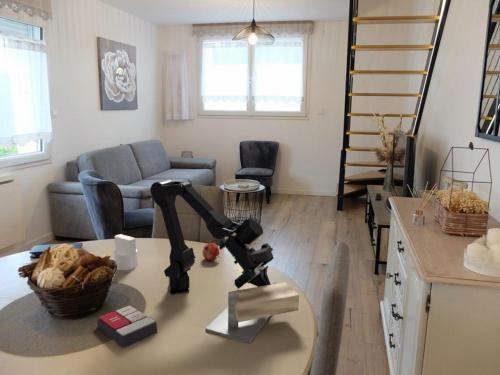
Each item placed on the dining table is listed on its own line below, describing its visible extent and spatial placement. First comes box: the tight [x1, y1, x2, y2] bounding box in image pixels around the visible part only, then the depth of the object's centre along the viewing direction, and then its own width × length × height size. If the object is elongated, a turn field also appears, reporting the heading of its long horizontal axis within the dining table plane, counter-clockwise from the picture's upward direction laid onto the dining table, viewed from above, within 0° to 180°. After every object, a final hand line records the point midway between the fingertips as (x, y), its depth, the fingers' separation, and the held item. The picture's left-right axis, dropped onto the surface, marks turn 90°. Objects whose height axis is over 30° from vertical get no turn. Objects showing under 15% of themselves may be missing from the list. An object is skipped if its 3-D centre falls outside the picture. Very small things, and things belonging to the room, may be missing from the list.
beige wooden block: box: [227, 281, 300, 330], centre depth 123 cm, size 9×20×10 cm, turn 112°
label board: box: [205, 306, 272, 344], centre depth 129 cm, size 14×26×1 cm, turn 155°
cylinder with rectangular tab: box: [113, 233, 139, 271], centre depth 163 cm, size 9×9×12 cm
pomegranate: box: [202, 242, 220, 262], centre depth 171 cm, size 7×7×10 cm
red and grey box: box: [96, 305, 158, 349], centre depth 120 cm, size 11×4×15 cm
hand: (271, 291), depth 129 cm, fingers closed
